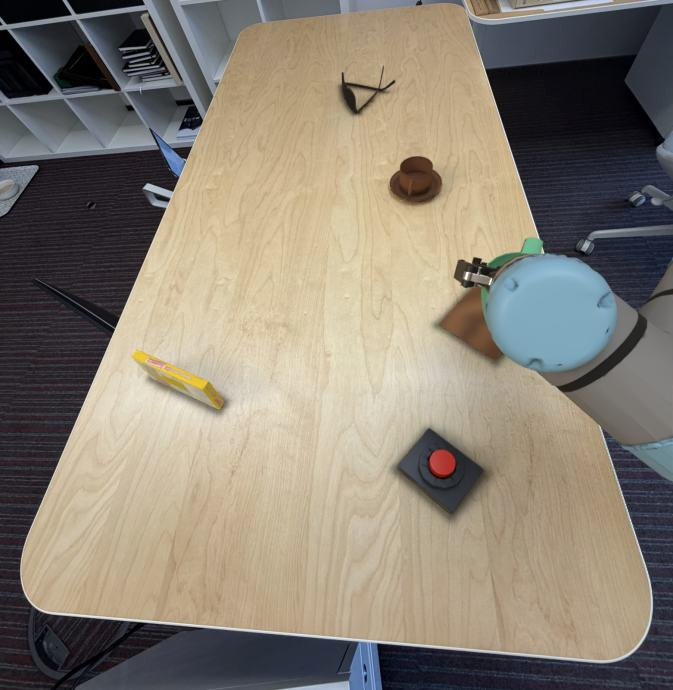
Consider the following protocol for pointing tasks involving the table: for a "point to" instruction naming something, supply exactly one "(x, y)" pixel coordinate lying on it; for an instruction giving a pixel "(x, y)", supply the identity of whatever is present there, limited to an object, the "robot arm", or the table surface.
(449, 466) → the stop button
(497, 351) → the brown pad
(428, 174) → the cup and saucer
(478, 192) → the table surface
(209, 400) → the candy box
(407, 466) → the control block
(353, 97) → the sunglasses
